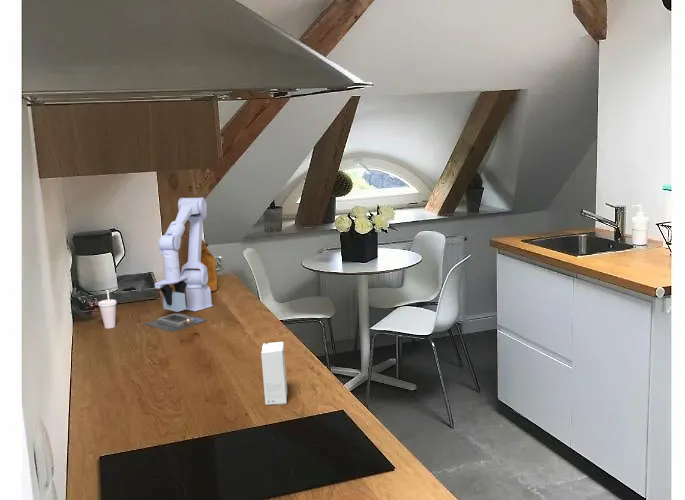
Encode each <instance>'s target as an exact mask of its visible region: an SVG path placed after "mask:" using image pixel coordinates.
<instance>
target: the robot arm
mask: <svg viewBox="0 0 685 500" xmlns="http://www.w3.org/2000/svg"><path fill="white" fill-rule="evenodd" d="M177 209H178V212H177V215H176V218H175V220H173V221H171V223H170V224H169V225H168V227H167V230H166V232H165V234H164V235H161V236H160V237H159V238H158V243H157V245H158V249H159V251H160V255H161V257H162V264H163V265H162V266H163V276H164V278H163V279H162V280H159V281H156V282H154V288H155V289H157V290H158V289H159V290H160V292H161V293H163V295H164V297H165V300H166V303H167V305H172V291H175V292H180V293H184V294H185V300H186V309H185V311H191V312H197V311H201V310H205V309H207V308H211V307H213V306H214V304H213V303H212V302H213V301H212V291H211V290H210V287H209V286H208V285H207V282H208V273H207V267H206V266H205V265H204V264H203V263H201V243H202V240H203V223H204V222H203V221H205V219H207V213H208V212H207V210H208V204H207V202H206V199H205V198H204V197H201V196H200V197H180V198H179V199H178V202H177ZM187 221H189V231H188V233H189V234H188V251H187V252H188V253H187V254H188V255H187V261H186V263H184V264H183V265H182V266H181V268H180V260H179V259H180V258H179V251H180V248H181V244H182V243H181V242H182V236H183V234H184V232H185V231H186V227H185V224H186V222H187ZM180 269H181V271H180ZM193 269H200V270H193ZM171 285H173V286H174V287H172V286H171ZM173 288H174V289H175V290H173ZM163 295H162V296H163Z"/></svg>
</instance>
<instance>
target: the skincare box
mask: <svg viewBox="0 0 685 500" xmlns="http://www.w3.org/2000/svg"><path fill="white" fill-rule="evenodd" d="M260 355H261V367H262V380H263V391H264V392H263V393H264V403H265V404H264V405H265V406H269V405H287V397H288V383H287V380H288V379H287V372H286V358H285V357H286V356H285V343H284V341H278V342H277V341H276V342H265V343H262V347H261V352H260Z"/></svg>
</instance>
